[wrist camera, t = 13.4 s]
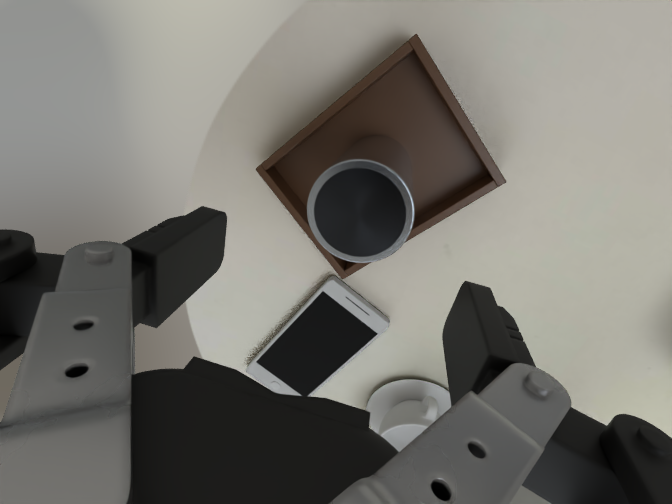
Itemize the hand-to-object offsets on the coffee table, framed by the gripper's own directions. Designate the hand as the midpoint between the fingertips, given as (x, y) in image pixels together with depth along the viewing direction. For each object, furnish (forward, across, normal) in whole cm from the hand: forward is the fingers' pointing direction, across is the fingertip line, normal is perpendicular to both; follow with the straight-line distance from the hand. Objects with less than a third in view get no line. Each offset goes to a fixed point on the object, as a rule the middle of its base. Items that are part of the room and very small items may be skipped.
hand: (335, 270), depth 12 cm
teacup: (+18, -10, +24) cm, 32 cm away
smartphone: (+18, +2, +19) cm, 26 cm away
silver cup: (+18, 0, 0) cm, 18 cm away
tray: (+18, 0, 0) cm, 18 cm away
